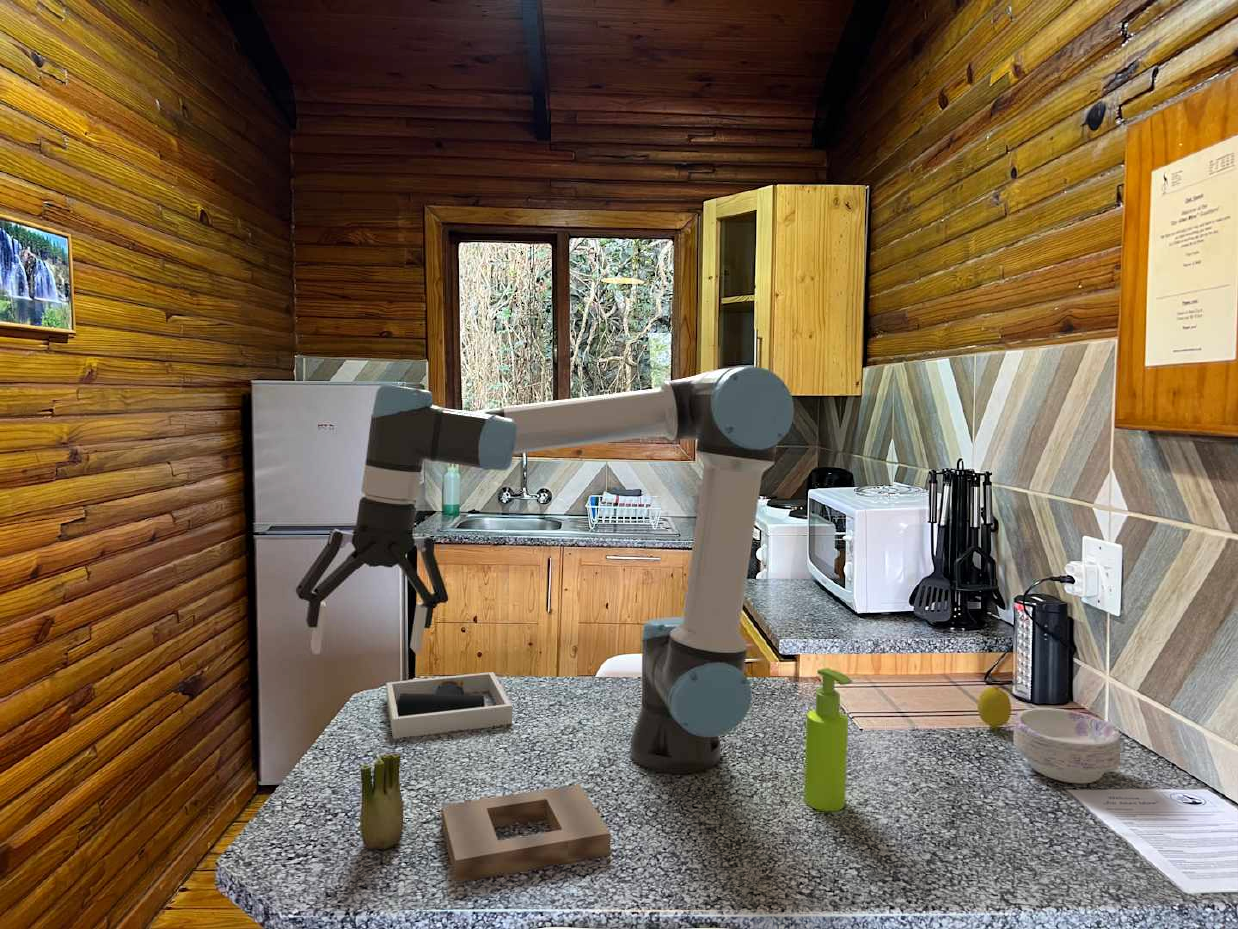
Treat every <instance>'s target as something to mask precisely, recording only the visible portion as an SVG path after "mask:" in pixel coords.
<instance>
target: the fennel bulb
mask: <svg viewBox="0 0 1238 929" xmlns="http://www.w3.org/2000/svg"><path fill="white" fill-rule="evenodd" d="M400 765H401V754H400V753H398V752H397V753H396V752H393V753H391V754H388V753H384V754H381V755H380V759H378V758H377V759H376V760H375V761H374V765H373V777H372V768H371V765H369V764H362V765H361V767H360V778H361V779H360V781H361V804H360V805H361V806H360V807H361V808H360V818H359V826H360V837H361V839H362V843H363V846H364V847H365V848H366V849H368V850H388V849H391V848H393V847H395V846H396V845H397V844H398V843H400V842H401V840H402V839H403V829H404V801H403V796H402V791H401V785H400Z"/></svg>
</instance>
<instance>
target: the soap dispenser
mask: <svg viewBox="0 0 1238 929" xmlns="http://www.w3.org/2000/svg"><path fill="white" fill-rule="evenodd" d="M817 675H820V676H822V688H820V689H818V690H816V694H815V696H816V697H815V708H814V709H811V710H809V711H808V712H807V713H806V728H805V729H806V734H805V735H806V736H805V761H804V762H805V763H804V764H805V765H804V768H805V769H804V793H803V794H804V795H803V796H804V797H803V799H804V802H805V804H806V805H807V806H809V807H811V808H813V809H816V810H819V811H824V812H837V811H840V810H842V809H843V808H844V807H845V804H846V802H845V801H846V782H847V781H846V780H847V779H846V776H847V758H848V756H847V755H848V729H849V718H848V716H847V715H846V714H845V713H843V712H841V711H840V708H841V707H840V702H841V701H840V700H841V694H840V692H838V691H837V690H835V682H837V683H838V684H839V685H840V686H843V685H848V684H852V683H853V680H852V679H851V678H850V677H848V676H847V675H845V674H844V673H842V672H840V671H837V670H836V669H835V670H834V669H831V668H828V667H827V668H821V669H817Z"/></svg>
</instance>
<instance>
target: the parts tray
mask: <svg viewBox="0 0 1238 929" xmlns="http://www.w3.org/2000/svg"><path fill="white" fill-rule="evenodd" d="M450 679H452V680H463V688H464V692H465V694H472V693H481V692H489V694H490V695H491V697H492V699H493V702H494V703H495V705H489V706H485V707H478V708H470V709H461V710H452V711H444V712H435V713H426V714H417V715H409V716H400V717H398V712H397V702H398V700H399V697H400V695H401V694H402V693H413V694H435V693H436V691H437V688H438V685H439V684H440V682H441V681H442V680H450ZM385 685H386V704H387V710H388V717H389V722H390V729H391V734H392V740H397V739H404V738H403V737H406V738H411V737H410V736H414V737H421V736H428V735H429V734H430V735H437V734H436V733H438V734H443V733H442V732H446V733H450V732H449V731H454V732H458V731H457V730H462V731H468V729H469V731H470V730H477V729H485V728H494V727H493V726H495V727H501V726H500V725H503V726H508V725H507V724H511V725H513V704H512V702H511V701H510V699H509V698H508V695H507V694H506V692H505V690H504V688H503V687H502V685H501V683H500V681H499V680H498V678H497V676H496V674H495V672H494V671H491V672H481V673H478V672H477V673H469V674H461V675H460V674H459V675H450V676H440V677H431V678H419V679H410V680H399V681H390V682H389V681H388V682H386V684H385ZM430 735H429V736H430Z"/></svg>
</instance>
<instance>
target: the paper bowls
mask: <svg viewBox="0 0 1238 929" xmlns="http://www.w3.org/2000/svg"><path fill="white" fill-rule="evenodd" d="M1012 739H1013V747H1014V749H1015V751H1017V752H1018V753H1019V754H1020V755H1022V756H1023V757H1024V758H1026V760H1027V762H1028V764H1029V765H1030V767H1031V768H1032V769H1033V770H1034V771H1036V772H1037V773H1038V774H1041V775H1043V776H1045V777H1047V778H1050V779H1052V780H1056V781H1060V782H1064V783H1070V784H1089V783H1094V782H1096V781H1098V780H1100V779H1101V778H1102V777H1103V775H1104V774H1105V773H1109V772H1112V771H1113V772H1114V771H1115V770H1116V769H1118V768H1119V766H1120V761H1121V753H1122V752H1121V751H1122V748H1121V744H1122V735H1121V733H1120V731H1119V730H1118V729H1117V728H1116V727H1115V726H1114V725H1112V724H1110V723H1109V722H1107V721H1105V720H1103V719H1101V718H1098V717H1095V716H1093V715H1090V714H1087V713H1082V712H1079V711H1073V710H1069V709H1063V708H1051V707H1049V708H1048V707H1037V708H1028V709H1025V710H1022V711H1020V712H1017V714H1015V716H1014V719H1013V738H1012Z"/></svg>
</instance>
